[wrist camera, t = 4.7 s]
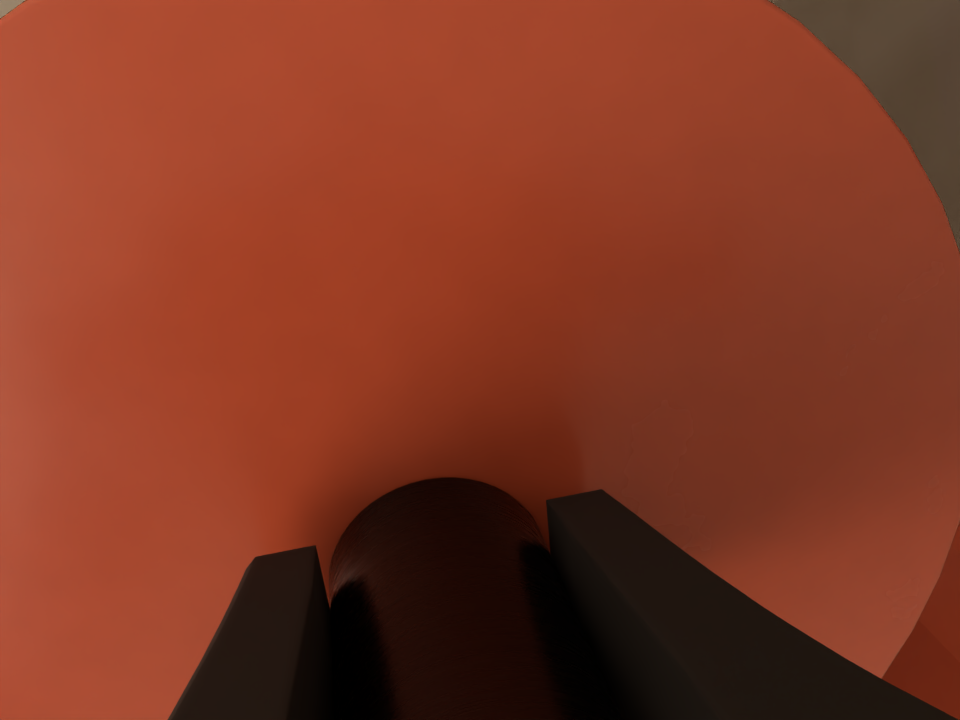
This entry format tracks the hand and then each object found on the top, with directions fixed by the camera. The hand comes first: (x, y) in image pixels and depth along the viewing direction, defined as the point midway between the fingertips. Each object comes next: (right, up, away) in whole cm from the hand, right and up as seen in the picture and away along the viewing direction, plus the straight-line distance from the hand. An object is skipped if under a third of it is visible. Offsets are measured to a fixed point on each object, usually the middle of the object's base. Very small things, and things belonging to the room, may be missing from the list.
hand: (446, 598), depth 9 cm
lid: (0, 0, +1) cm, 1 cm away
